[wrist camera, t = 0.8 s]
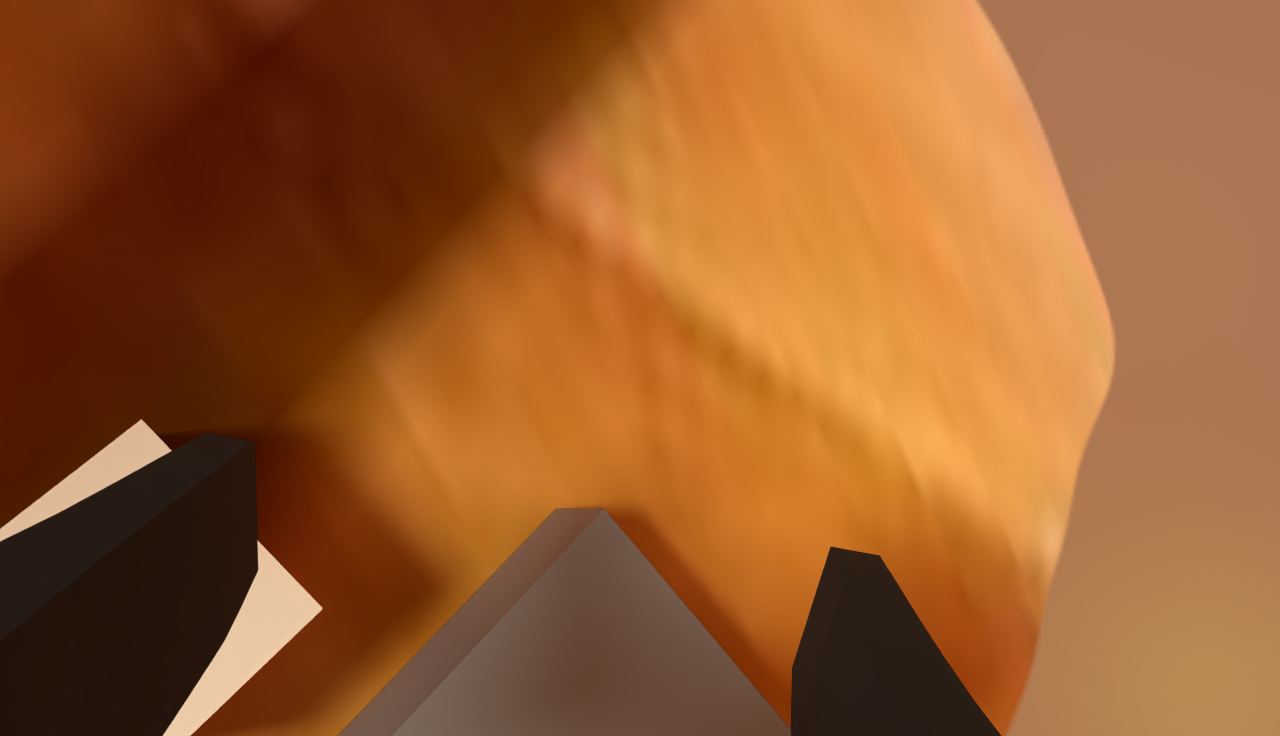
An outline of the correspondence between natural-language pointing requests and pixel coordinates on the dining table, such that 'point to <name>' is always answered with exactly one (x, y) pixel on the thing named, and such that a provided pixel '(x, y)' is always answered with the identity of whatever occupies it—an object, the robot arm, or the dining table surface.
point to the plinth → (571, 653)
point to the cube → (266, 610)
